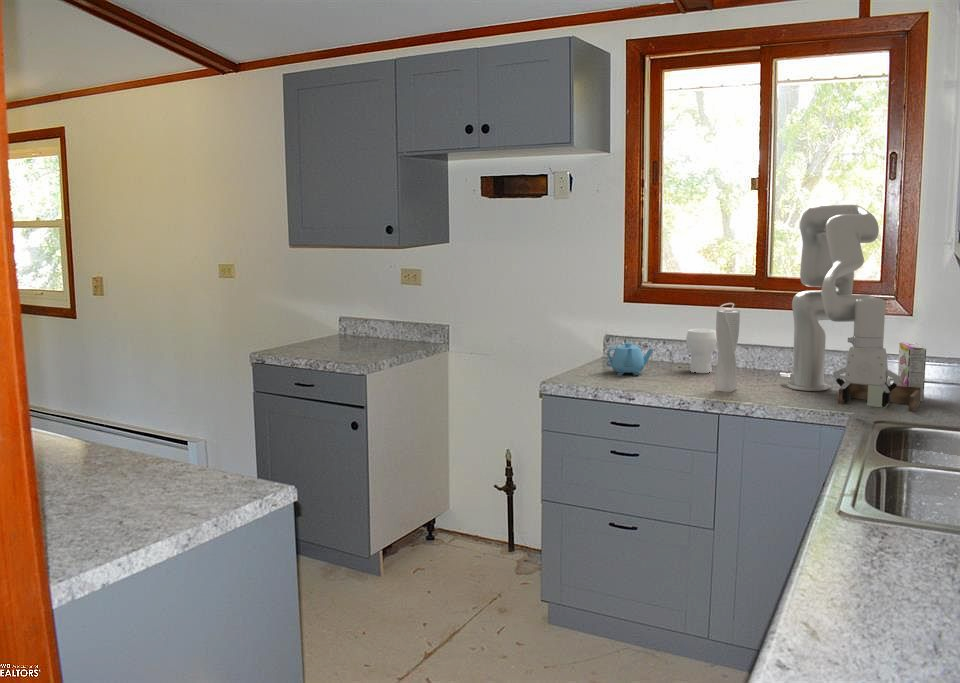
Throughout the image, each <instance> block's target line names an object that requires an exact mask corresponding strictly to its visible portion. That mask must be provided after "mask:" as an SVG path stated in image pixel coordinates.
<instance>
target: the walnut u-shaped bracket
mask: <svg viewBox="0 0 960 683" xmlns="http://www.w3.org/2000/svg"><path fill="white" fill-rule="evenodd" d="M891 384H892V383H890V385H891ZM849 388H850V399H858V400H868V385H861V384H850V385H849ZM920 393H921V387H912V386H901V385H897V387H895V388H894V389H893V390H891V391H890V397H889V403H897V404H905V405H906V404H907V405H908V406H909V407H908V412H909V413H914V411H916V409H917V408H918V407H919V406H920V405H921V402H920ZM842 394H843V389H842V388H841V387H840V388H839V389H838V398H837V399H838V400H837V404H838V405H843V404H845V403H844V400H843V399H842Z"/></svg>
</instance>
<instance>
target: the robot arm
mask: <svg viewBox="0 0 960 683" xmlns="http://www.w3.org/2000/svg"><path fill="white" fill-rule="evenodd" d="M879 228H880V227H879V223H878V220H877V218H876V217H875V216H874V215H873V214H872V213H871V212H870V211H868V210H867V209H865V208H863V207H862V206H860V205H857V204H818V205H817V204H816V205H815V204H814V205H810V206H807V207H805V208H804V209H803V210H802V211H801V213H800V217H799V230H800V231H799V232H800V235H801V238H802V239H801V240H802V250H801V259H800V270H799V273H800V274H799V278H800V282H801V284H802V285H803V286H806V287H810V288H821V289H820V290H817V289H816V290H804V291H799V292H797V293H796V294H795V295H794V296H793V298H792V303H791V306H792V307H791V308H792V316H793V326H794V328H793V352H792V353H793V355H792V356H793V357H792V359H793V360H792V372H789V373H786V372H780V373H779V379H780V380H783V381H784V380H788V382H787V383H786V387H787V388H789V389H791V390H792V389H793V390H796V391H803V392H804V391H806V392H812V391H813V392H820V391H822V392H823V391H827V390H829V389H830V388H829V384H828V383H825V380H824V379H825V378H824V377H825V362H826V359H825V358H826V340H827V339H826V338H827V336H826V331H825V330H824V328H823V326H822V325H821V324H820V323H819V321H832V322H835V323H840V322H842V323H844V322H845V323H847V322H850V323H851V322H852V323H853V336H852V337H847V343H850V344H851V345H852V346H850V347H849V348H848V353H847V359H846V365H845V367H842V368H841V369H840V368H839V369H837V370H835V371H833V372H832V375H833V377H834V379H835V381H836V383H837V384H838V385H839V386H840V388H842V389H843V394H842V399H843V400H844V403H843V404H848V403H849V402H850V399H851V398H850V388H849V385H850V384H861V385H872V386H881V388H882V389H883V390H884V392H883V394H882V407H881V408H885V407H886V406H887V404H889V405H890V402H889V397H890V391H891V390H893V389H894V388H895V387H897V385H898V384H899V382H900V381H901V379H902V378H901V377H900V376H899V375H898V373H897V374H896V373H895V372H893V371H891V370H889V369H888V366H889V365H888V355H887V350H886V348H885V347H884V338H885V319H886V317H885V316H886V302H885V300H884V299H883V298H880V297H876V296H874V295H869V294H853V288H854V278H855V271H857V270H858V269H860V268H861V267H862V266H863V265H864V263H865V258H864V254H863V250H862V244H869V243H873V242H875V241H877V240H876V239H877V238H878V236H879V230H880V229H879ZM844 373H845V374H844ZM842 374H844V375H845V378H844V379H845V381H844V380H843V379H842V376H841V375H842ZM887 378H891V379H893V382H892V383H890V384H891V385H890V386H889V385H888V384H887V383H886V382H887ZM887 407H888V406H887ZM887 407H886V408H887Z"/></svg>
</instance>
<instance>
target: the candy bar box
mask: <svg viewBox="0 0 960 683" xmlns="http://www.w3.org/2000/svg"><path fill="white" fill-rule="evenodd" d="M926 356H927V348H926V347H924V346H922V345H920V344H918V343H916V342H905V341H903V342H899V343H898V366H897V368H898V370H897V375H899V376H900V377H901V378H902V379H901V381H900V382H899V384H898V385H901V386H912V387H921V393H920V403H921V402H923V403H924V400H925V399H924V398H925V382H926V381H925V380H926V378H925V377H926V363H927V362H926V359H927V357H926Z"/></svg>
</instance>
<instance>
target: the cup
mask: <svg viewBox="0 0 960 683" xmlns="http://www.w3.org/2000/svg"><path fill="white" fill-rule="evenodd" d="M685 340H686V341H685V342H686V346H687V350H688V351H689V353H690V361H691V362H690V367H689V372H690V371H691V373H694V372H696V373H695V374H708V373H709V372H710V373H712V371H713V369H712V363H711V362H712V361H711V360H712V355H713V353H714V351H715V350H716V346H717V339H716V329H709V328H691V329H688V330H687V333H686V338H685ZM710 373H709V374H710Z"/></svg>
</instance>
